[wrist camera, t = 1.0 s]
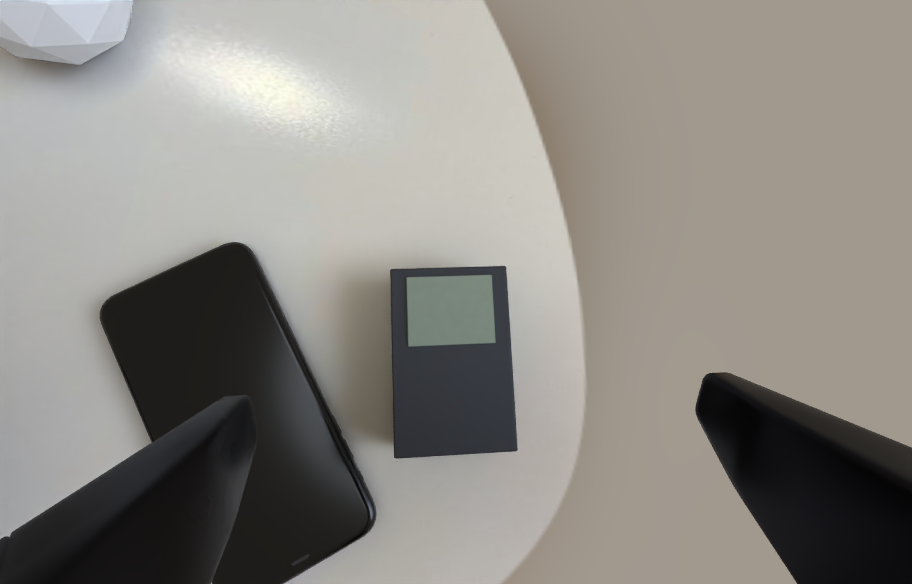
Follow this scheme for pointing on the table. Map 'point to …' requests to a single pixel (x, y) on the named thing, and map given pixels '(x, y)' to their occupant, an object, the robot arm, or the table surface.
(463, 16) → the table surface
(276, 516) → the smartphone
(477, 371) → the black lcd device
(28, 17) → the geometric ball
